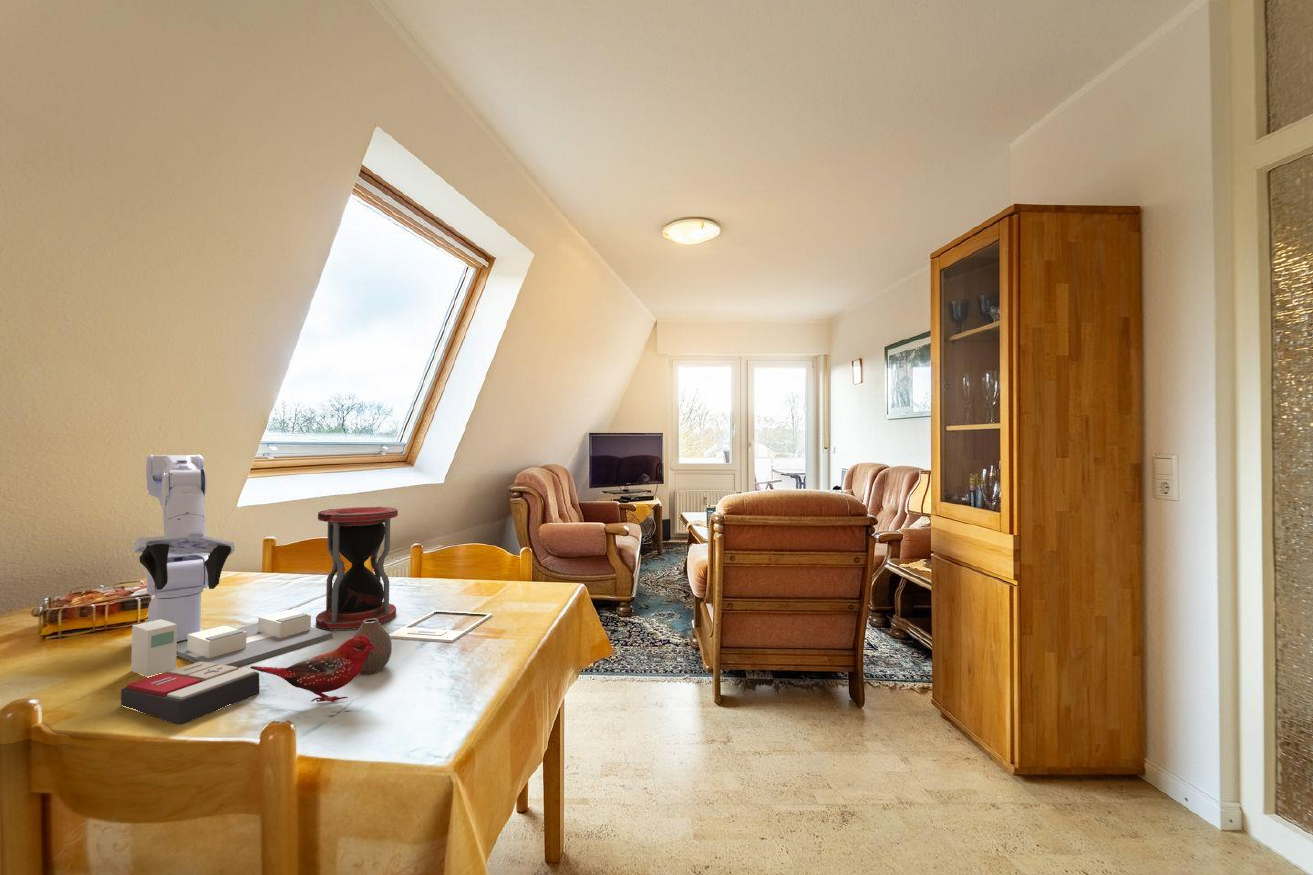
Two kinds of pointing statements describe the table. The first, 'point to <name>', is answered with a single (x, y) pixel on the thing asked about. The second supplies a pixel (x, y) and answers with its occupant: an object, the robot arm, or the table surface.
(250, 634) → the rail board
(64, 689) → the table surface
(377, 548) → the hourglass
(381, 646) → the vase
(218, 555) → the robot arm
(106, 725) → the table surface
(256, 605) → the table surface
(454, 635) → the photo frame
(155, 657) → the module block
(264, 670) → the decorative bird figurine
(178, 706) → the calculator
